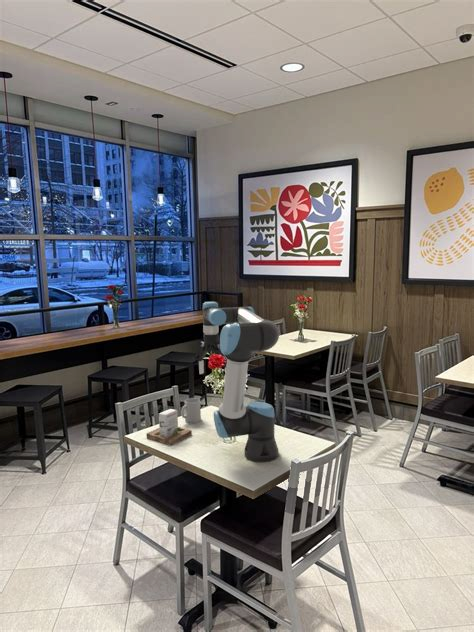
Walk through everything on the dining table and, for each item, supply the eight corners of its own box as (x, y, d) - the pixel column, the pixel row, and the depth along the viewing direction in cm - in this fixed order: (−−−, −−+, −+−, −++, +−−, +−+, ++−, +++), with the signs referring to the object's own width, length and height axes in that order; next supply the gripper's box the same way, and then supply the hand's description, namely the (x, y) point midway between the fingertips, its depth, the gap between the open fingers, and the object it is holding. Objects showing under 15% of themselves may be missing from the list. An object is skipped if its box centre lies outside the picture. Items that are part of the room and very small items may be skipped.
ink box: (171, 430, 229) (170, 408, 228) (178, 432, 226) (177, 409, 225) (159, 436, 222) (158, 413, 221) (166, 438, 219) (165, 415, 218)
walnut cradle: (191, 434, 226) (191, 430, 225) (170, 445, 214) (170, 440, 213) (168, 427, 235) (168, 423, 235) (146, 437, 223) (146, 433, 223)
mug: (193, 416, 252) (192, 396, 250) (204, 419, 246) (203, 399, 245) (176, 422, 243) (176, 402, 241) (187, 425, 237) (187, 405, 236)
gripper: (236, 334, 219) (236, 377, 222) (196, 330, 234) (197, 370, 237) (226, 336, 213) (227, 380, 216) (186, 332, 228) (188, 373, 230)
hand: (212, 375), depth 226 cm, fingers open, 13 cm apart
